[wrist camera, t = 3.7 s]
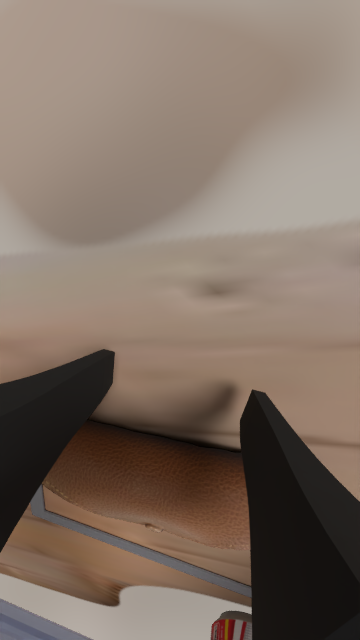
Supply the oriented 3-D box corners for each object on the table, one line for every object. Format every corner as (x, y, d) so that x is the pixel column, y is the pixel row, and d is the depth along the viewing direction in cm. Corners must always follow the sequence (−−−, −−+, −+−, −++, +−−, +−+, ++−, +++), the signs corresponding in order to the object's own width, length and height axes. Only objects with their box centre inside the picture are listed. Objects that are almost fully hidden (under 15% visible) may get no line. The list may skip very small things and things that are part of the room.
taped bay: (323, 528, 14) (324, 530, 14) (264, 600, 19) (264, 602, 19) (19, 428, 17) (18, 429, 17) (33, 513, 21) (32, 514, 21)
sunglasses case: (65, 479, 18) (-15, 548, 11) (83, 396, 19) (19, 416, 13) (280, 535, 15) (335, 668, 9) (285, 435, 16) (337, 486, 10)
